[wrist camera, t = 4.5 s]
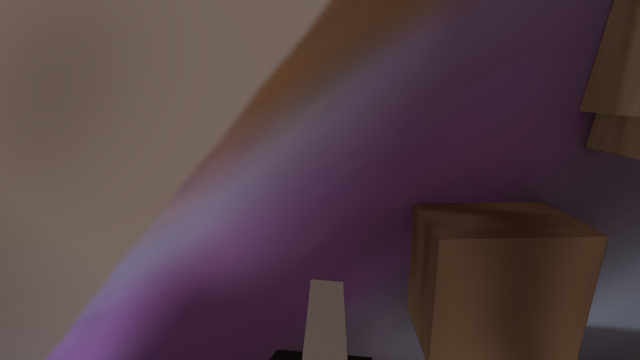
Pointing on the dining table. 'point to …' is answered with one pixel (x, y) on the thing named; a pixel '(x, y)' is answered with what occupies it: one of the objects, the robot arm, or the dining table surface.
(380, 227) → the dining table surface
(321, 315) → the robot arm
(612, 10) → the brown wooden pieces
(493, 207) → the block
